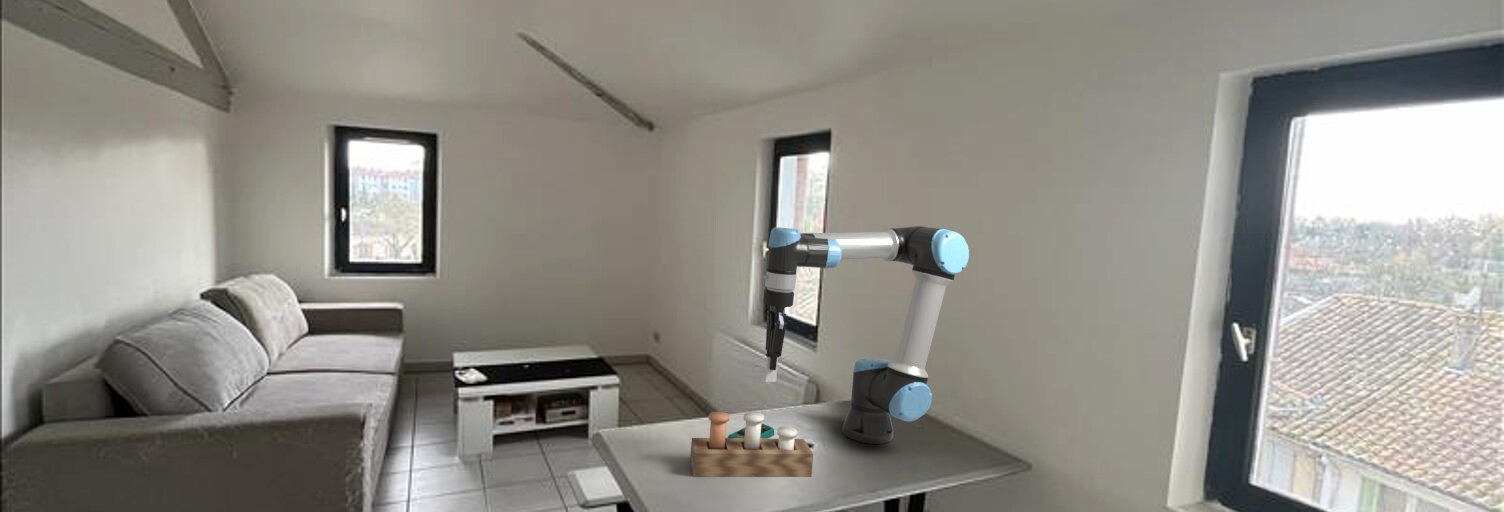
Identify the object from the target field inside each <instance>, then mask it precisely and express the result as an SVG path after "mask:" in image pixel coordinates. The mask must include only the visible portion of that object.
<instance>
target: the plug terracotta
mask: <svg viewBox="0 0 1504 512" xmlns="http://www.w3.org/2000/svg"><path fill="white" fill-rule="evenodd" d="M708 420H709V421H710V427H709V438H710V439H709V449H719V450H725V438H726V435H727V422H729V421H730V414H729V413H727V412H724V411H711V412H710V413H709V414H708Z"/></svg>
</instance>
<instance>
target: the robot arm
mask: <svg viewBox="0 0 1504 512" xmlns="http://www.w3.org/2000/svg"><path fill="white" fill-rule="evenodd" d="M767 246H768V250H767V262H766V273H765V275H763V279H764V280H765V282H764V283H765V284H764V287H766V288H765V289H763V300H762V301H763V304H764V305H767V306H770V307H769V310H767V311H766V331H765V333H766V334H765V339H766V340H765V351H766V353H765V356H766V361H765V370H764V381H765V383H766V382H767V383H777V377H778V376H777V375H778V366H779V358H781V357H782V351H783V348H784V347H783V345H784V340H785V335H786V334H785V333H786V330H787V325H788V322H787V321H786V320H787V313H786V310H785V309H786V308H790V307H793V305H794V298H795V292H794V290H795V289H796V281H797V270H798V268H802V267H803V268H804V267H805V268H818V269H822V268H823V269H825V270H826V269H833V268H836V267H837V266H839V264H840V263H841V260H854V259H855V260H857V259H858V260H859V259H861V260H862V259H863V260H864V259H882V260H884V261H886V262H899V263H902V264H903V263H904V264H909V265H912V269H911V270H912V271H911V273H912V274H913V275H914V277H915V278H914V279H915V280H914V284H913V286H912V292H911V295H910V300H909V303H908V307H907V311H906V314H905V319H904V321H903V325H902V330H901V333H900V338H899V342H898V345H897V350H896V353H895V357H894V360H893V361H892V360H888V359H882V358H863V359H862V358H861V359H858V360H856V361H855V363H854V368H853V371H852V373H853V375H852V387H851V396H850V397H851V399H850V405H849V406H850V407H849V409H848V411H847V414H846V417H845V418H844V420H843V423H842V429H841V430H842V434H843V435H844V436H845V437H847V438H848V439H850V440H853V441H856V442H860V443H865V444H872V445H873V444H874V445H876V444H877V445H879V444H882V445H883V444H886V443H890V442H892V441H893V439H894V427H893V423H892V417H894V418H895V419H899V420H901V421H904V422H914V421H917V420H918V419H920V417H923V416H924V415H925V414H926V413H927V412H928V411H929V408H930V407H931V405H932V402H933V401H932V400H933V394H932V392H931V389H930V387H929V385H928V380H929V374H928V372H927V371H926V365H927V362H928V357H929V355H930V354H929V353H930V349H931V346H932V342H933V339H934V335H935V331H936V327H937V324H938V320H939V315H940V311H941V308H942V305H943V300H944V296H945V293H946V289H947V286H948V285H950V284H951V283H954V280H955V276H956V274H959V273H961V272H962V270H964V269H965V268H966V267H967V265H968V263H969V258H970V251H969V246H968V243H967V242H966V239H965V238H964V236H963V235H961V233H959V232H956V231H954V230H953V231H952V230H949V229H944V228H935V227H927V226H921V225H920V226H919V225H918V226H905V227H896V228H895V227H894V228H884V229H883V230H882V231H871V232H870V231H868V232H867V231H866V232H865V231H862V232H860V231H859V232H857V231H856V232H809V233H808V232H805V233H804V232H802V233H801V231H800V230H799V229H797V228H791V227H790V228H789V227H788V228H786V227H779V226H777V227H776V226H775V227H773V228H772V229H771V231H770V234H769V240H768V244H767Z"/></svg>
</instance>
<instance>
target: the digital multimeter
mask: <svg viewBox="0 0 1504 512" xmlns="http://www.w3.org/2000/svg"><path fill="white" fill-rule="evenodd" d="M773 436H775V428H773V427H772V426H770V425H768V424H764V423H761V435H760V438H762V439H770V438H772V437H773ZM727 438H745V427H742V428H741V429H738V430H737V431H734V432H732V433H730V434H729V435H728V436H727Z"/></svg>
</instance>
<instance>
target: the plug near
mask: <svg viewBox="0 0 1504 512" xmlns="http://www.w3.org/2000/svg"><path fill="white" fill-rule="evenodd" d="M776 430H777V431H776V434H777V435H778V439H779V443H778V450H794V439H796V437H797V436H798V429H796V428H795V427H792V426H779V427H778V428H777V429H776Z"/></svg>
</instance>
